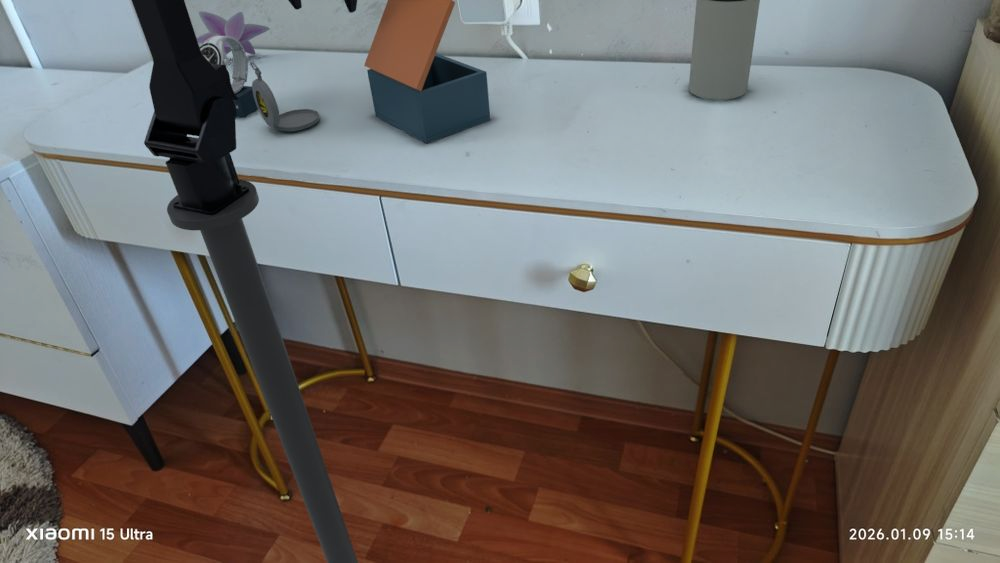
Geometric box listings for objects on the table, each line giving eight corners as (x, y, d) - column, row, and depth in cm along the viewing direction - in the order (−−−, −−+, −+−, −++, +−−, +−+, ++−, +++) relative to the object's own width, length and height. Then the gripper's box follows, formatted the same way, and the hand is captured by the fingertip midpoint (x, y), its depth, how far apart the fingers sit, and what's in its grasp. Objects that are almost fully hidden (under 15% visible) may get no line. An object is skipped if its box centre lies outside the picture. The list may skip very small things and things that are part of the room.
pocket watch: (329, 116, 100) (313, 47, 95) (297, 141, 94) (278, 68, 88) (281, 113, 103) (263, 46, 97) (247, 136, 97) (226, 66, 91)
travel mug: (712, 106, 94) (728, -37, 83) (677, 88, 100) (687, -47, 89) (759, 93, 96) (780, -47, 85) (721, 77, 102) (737, -56, 91)
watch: (206, 119, 103) (181, 45, 97) (240, 100, 109) (219, 29, 103) (237, 122, 101) (213, 47, 95) (269, 102, 107) (249, 30, 101)
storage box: (436, 95, 104) (430, 50, 100) (490, 120, 95) (486, 71, 91) (375, 116, 99) (366, 69, 95) (426, 143, 90) (419, 93, 86)
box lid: (398, -14, 93) (393, -16, 92) (455, 2, 84) (450, -1, 83) (368, 67, 95) (363, 65, 95) (421, 91, 86) (416, 89, 86)
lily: (286, 61, 127) (269, 9, 126) (247, 55, 116) (227, -2, 115) (235, 82, 131) (217, 32, 130) (192, 79, 120) (172, 23, 118)
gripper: (393, -133, 87) (413, -4, 96) (278, -129, 94) (307, -9, 103) (342, -119, 79) (369, 20, 88) (221, -115, 86) (257, 13, 96)
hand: (325, 10), depth 94 cm, fingers open, 9 cm apart
